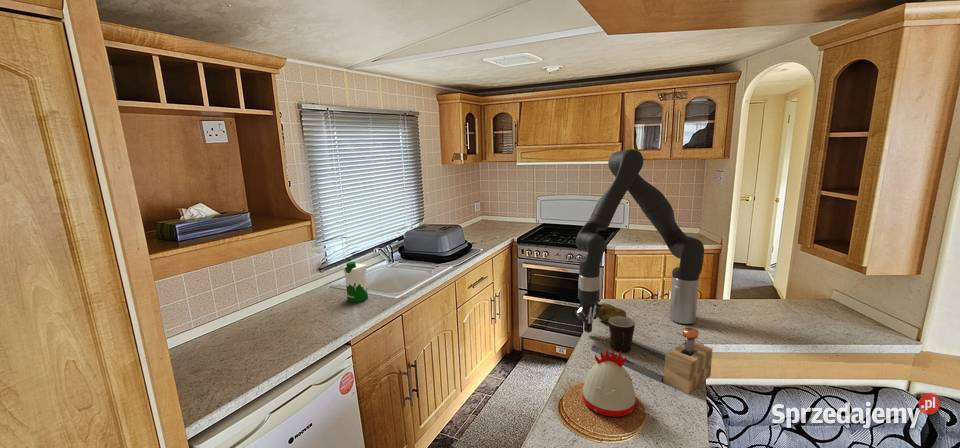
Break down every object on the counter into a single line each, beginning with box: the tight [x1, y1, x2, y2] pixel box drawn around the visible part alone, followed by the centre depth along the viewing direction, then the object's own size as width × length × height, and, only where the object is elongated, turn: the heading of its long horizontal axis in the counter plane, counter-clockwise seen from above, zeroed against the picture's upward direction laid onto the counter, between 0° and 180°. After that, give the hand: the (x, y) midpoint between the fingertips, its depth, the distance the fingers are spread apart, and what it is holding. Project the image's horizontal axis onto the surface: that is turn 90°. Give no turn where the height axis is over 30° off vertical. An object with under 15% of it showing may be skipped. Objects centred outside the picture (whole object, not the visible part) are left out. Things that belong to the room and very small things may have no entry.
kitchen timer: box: [582, 348, 636, 417], centre depth 107 cm, size 14×14×15 cm
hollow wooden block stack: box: [663, 342, 714, 395], centre depth 116 cm, size 14×7×9 cm, turn 127°
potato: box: [596, 302, 627, 324], centre depth 156 cm, size 8×13×8 cm, turn 88°
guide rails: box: [590, 339, 667, 383], centre depth 130 cm, size 14×25×2 cm, turn 37°
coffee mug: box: [608, 316, 636, 354], centre depth 134 cm, size 12×9×10 cm
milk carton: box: [342, 261, 369, 304], centre depth 185 cm, size 9×9×20 cm
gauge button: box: [682, 327, 699, 356], centre depth 115 cm, size 4×4×10 cm
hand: (587, 331), depth 145 cm, fingers closed
